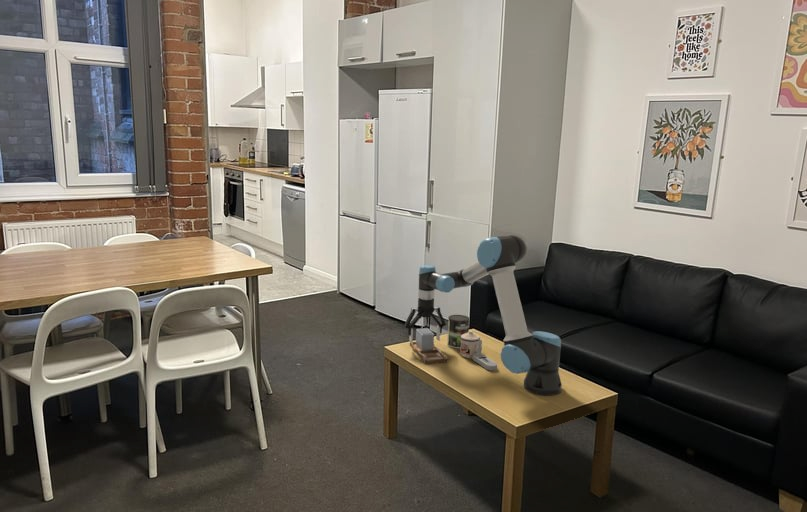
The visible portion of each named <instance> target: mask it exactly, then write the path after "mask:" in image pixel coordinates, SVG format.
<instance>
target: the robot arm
mask: <svg viewBox="0 0 807 512" xmlns="http://www.w3.org/2000/svg"><path fill="white" fill-rule="evenodd" d="M476 250H477V251H476V257H477V261H475V262H473V263H472V264H470V265H468V266H466V267H464V268H463V269H461V270H458V271H452V272H446V273H440V272H436V271H437V270H436V267H435V265H433V264H432V265H431V264H423V265H420V267H419V273H418V293H417V294H418V300H417V308H416V307H411V308H410V313H409V315H408V317H407V319H405V320H406V321H405V322H404V325H403V326H404V328H405V329H407V335H408V337H409V338H408V339H409V340H408V341H409V343H410V342H411V343H412V342H414V341H413V339H414V337H413V336H414V335H413V334H414V333H413V332H414V329H413V328H414V326H415V325H416V324H417V323H418V321H419V320H420V319H421V318H430V317H431V319H433V320H434V322H435V323H436V324H437V325H436V333H435V334H436V340H437V341H440V339H441V338H440V337H441V334H442V331H443V327H445V326H446V325H447V323H446V321H445V319H444V317H443V315H442V312H441V307H439V306H435V290H437V291H440V292H441V293H450V292H452V291H453V290H454V289H458V288H460V289H461V288H467V287H470V286H473V284H474V283H475V282H476V281H478V280H480V279H482V278H484V277H486V276H488V275H489V276H491V277H492V278H491V279H492V283H493V286H494V287H493V288H494V291H495V296H496V299H497V303H498V307H499V311H500V315H501V320H502V323H503V327H504V329H503V330H504V333H505V337H504V339H503V345H504V346H502V348H501V351H500V359H501V362H502V364H503V366H504V367H505V368H506V369H507V370H508V371H509V372H511V373H512V374H517V375H518V374H524V373H526V374H525V377H524V379H523V387H524V389H525V390H527V391H528V392H530V393H532V394H535V395H540V396H556V395H558V394H560V393H561V392H562V387H563V386H562V381H561V375H560V374H559V373H560V372H559V369H560V359H561V348H562V339H561V338H560V336H558V334H555V333H554V334H553V333H550V332H547V331H533V332H532V333H531V332H529V330H528V327H527V322H526V319H525V314H524V311H523V306H522V302H521V299H520V294H519V290H518V286H517V282H516V281H517V280H516V277H515V274H514V271H515V269H516V267H517V266H516V264H518V263H520V262H522V261H523V260H524V258H525V257H526V255H527V252H528V250H527V244H526V242H525V241H524V240H523V239H522V238H521V237H520V236H517V235H513V234H511V235H501V236H499V235H498V236H491V237H486V238H484V239H482V240H481V242H480V243H479V245H478V247H477V249H476ZM434 312H436V314H437V315H438V316H437V317H438V318H439V320H440V321H439V320H438V318H437V317H436V316H435V315H434V314H433V313H434ZM415 314H416V315H415ZM414 316H415V317H414Z"/></svg>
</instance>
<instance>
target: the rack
mask: <svg viewBox="0 0 807 512" xmlns="http://www.w3.org/2000/svg"><path fill="white" fill-rule="evenodd" d="M409 346H410V348H411V349H412V350H413V351H414V353H416V354H417V356H418V358H420V359H421V361H422V362H423V363H424V365H431V364H443V363H448V362H449V359H448V357H447V356H446V355H445V354H444V353H443V352H442V351H441V350H440V349H439V348H438V347H437V346H436V345H435V344H434V347H433V350H420V349H419V348H418V347H417V346H416V341H413V342H412V343H411V342H410V341H409Z"/></svg>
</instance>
